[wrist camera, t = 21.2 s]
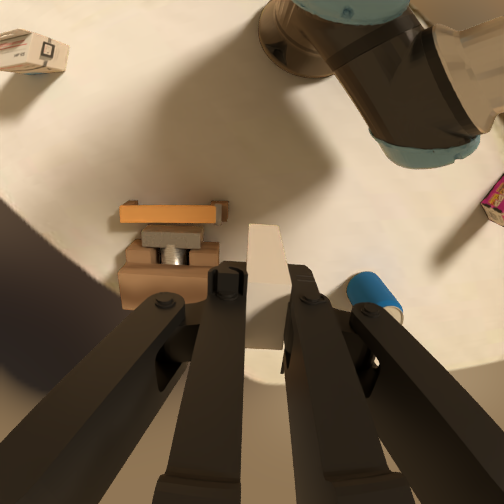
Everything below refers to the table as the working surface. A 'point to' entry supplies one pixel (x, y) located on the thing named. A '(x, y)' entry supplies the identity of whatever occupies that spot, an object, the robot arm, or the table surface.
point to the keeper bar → (171, 214)
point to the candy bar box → (495, 203)
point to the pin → (173, 241)
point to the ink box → (31, 53)
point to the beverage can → (373, 294)
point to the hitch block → (166, 271)
